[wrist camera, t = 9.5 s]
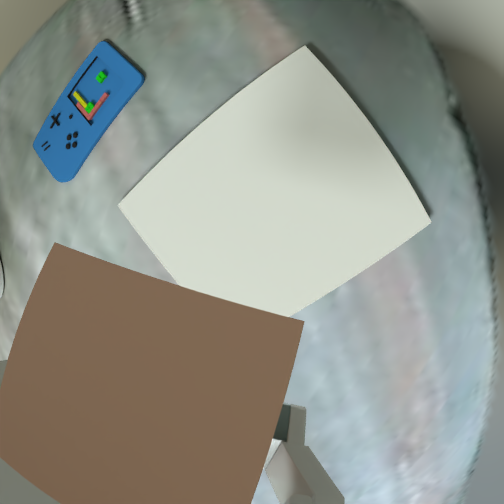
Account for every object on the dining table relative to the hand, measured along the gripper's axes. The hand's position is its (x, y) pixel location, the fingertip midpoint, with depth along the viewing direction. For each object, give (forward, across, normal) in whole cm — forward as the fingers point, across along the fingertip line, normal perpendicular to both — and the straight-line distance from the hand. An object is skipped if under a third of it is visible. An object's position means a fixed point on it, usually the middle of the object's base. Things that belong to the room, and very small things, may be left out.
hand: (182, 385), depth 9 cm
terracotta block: (+4, 0, +5) cm, 7 cm away
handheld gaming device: (+19, +21, -8) cm, 29 cm away
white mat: (+18, 0, -3) cm, 18 cm away
